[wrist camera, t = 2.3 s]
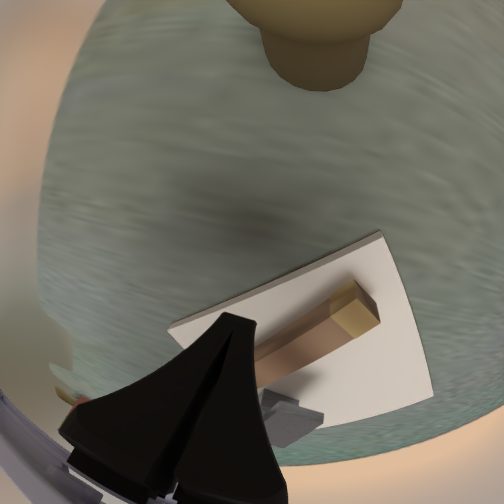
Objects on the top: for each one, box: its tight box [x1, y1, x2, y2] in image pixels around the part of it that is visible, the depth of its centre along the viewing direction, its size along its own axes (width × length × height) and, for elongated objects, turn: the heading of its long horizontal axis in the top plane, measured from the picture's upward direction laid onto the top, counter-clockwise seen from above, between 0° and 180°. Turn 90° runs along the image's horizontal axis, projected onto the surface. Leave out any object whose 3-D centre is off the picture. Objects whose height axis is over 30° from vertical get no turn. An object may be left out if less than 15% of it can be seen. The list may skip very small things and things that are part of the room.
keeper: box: [258, 388, 324, 448], centre depth 22 cm, size 10×7×5 cm
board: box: [167, 231, 434, 429], centre depth 23 cm, size 20×21×1 cm
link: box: [254, 279, 381, 389], centre depth 19 cm, size 15×4×2 cm, turn 139°
